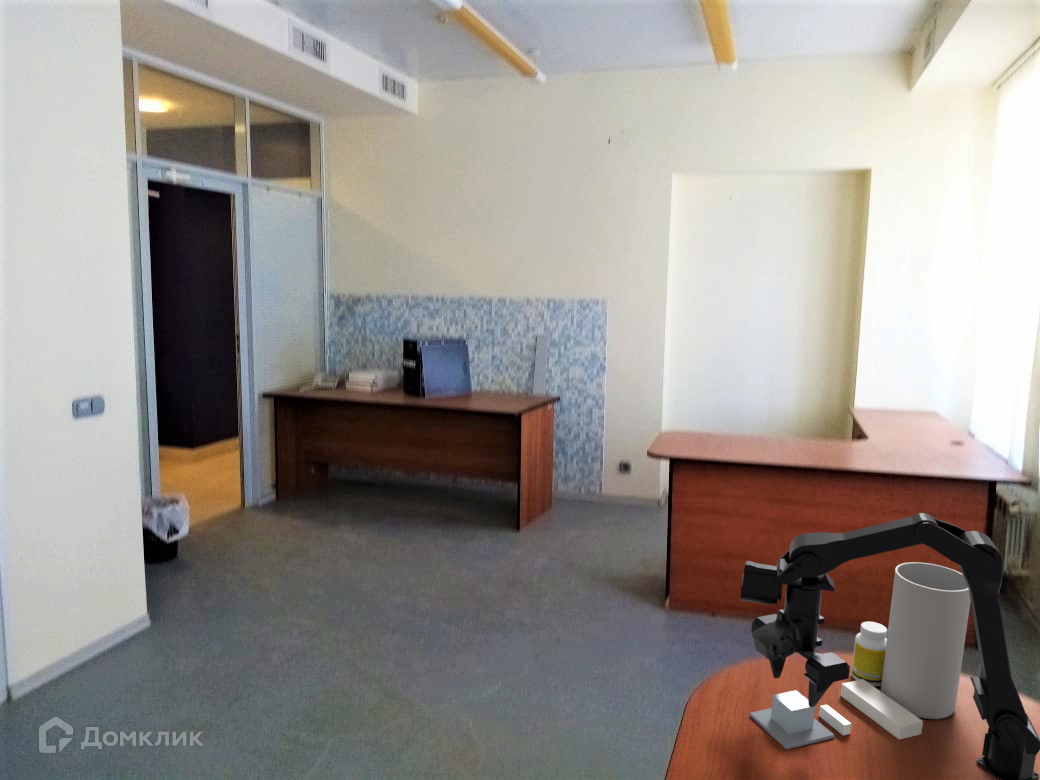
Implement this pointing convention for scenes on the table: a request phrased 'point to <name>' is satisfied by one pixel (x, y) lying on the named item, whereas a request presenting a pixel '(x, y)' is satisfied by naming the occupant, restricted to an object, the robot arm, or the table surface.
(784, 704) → the pale blue cube
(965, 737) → the table surface
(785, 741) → the mat
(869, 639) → the pill bottle
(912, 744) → the table surface
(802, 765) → the table surface
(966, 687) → the table surface
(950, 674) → the cylinder vase
